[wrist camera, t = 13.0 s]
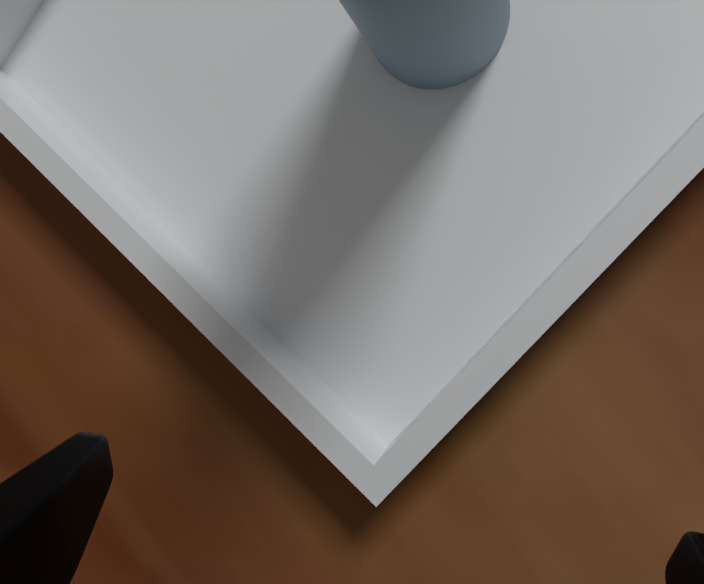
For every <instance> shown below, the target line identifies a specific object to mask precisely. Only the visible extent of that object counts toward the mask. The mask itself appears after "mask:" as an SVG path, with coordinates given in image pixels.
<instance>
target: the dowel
mask: <svg viewBox="0 0 704 584" xmlns="http://www.w3.org/2000/svg"><path fill="white" fill-rule="evenodd" d="M339 1H340V3H341V4H342V6H343V7H344V9H345V10H346V12H347V13H348V15H349V16H350V18H351V19H352V21H353V22H354V24H355V25H356V27H357V28H358V30H359V31H360V33H361V34H362V36H363V37H364V39H365V40H366V42H367V43H368V45H369V46H370V48H371V49H372V51H373V52H374V54H375V55H376V57H377V58H378V60H379V61H380V63H381V64H382V66H383V67H384V68H385V69H386V70H387V71H388V72H389V73H390V74H391V75H392V76H393V77H395V78H396V79H398V80H399V81H401V82H403V83H405V84H407V85H410V86H413V87H417V88H422V89H442V88H447V87H451V86H455V85H457V84H460V83H462V82H465V81H466V80H468V79H470V78H472V77H473V76H475V75H476V74H477V73H479V72H480V71H481V70H482V69H483V68H485V67H486V66H487V65H488V64H489V62H490V61H491V60H492V59H493V58H494V56H495V55H496V53H497V52H498V50H499V49H500V47H501V45H502V43H503V41H504V39H505V36H506V33H507V30H508V25H509V21H510V0H339Z"/></svg>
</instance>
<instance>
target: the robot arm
mask: <svg viewBox="0 0 704 584" xmlns="http://www.w3.org/2000/svg"><path fill="white" fill-rule="evenodd" d="M112 478H113V466H112V461H111V456H110V450H109V445H108V441H107V439H106V437H105V436H104V435H100V434H94V433H88V432H80V433H77V434H75V435H73V436H72V437H70V438H69V439H67V440H66V441H64V442H63V443H61V444H60V445H58V446H57V447H55V448H54V449H52V450H51V451H49V452H48V453H46V454H45V455H43V456H41V457H40V458H38V459H37V460H35V461H34V462H32V463H31V464H29V465H28V466H26V467H25V468H23V469H22V470H20V471H19V472H17V473H16V474H14V475H13V476H11V477H10V478H8V479H7V480H5V481H4V482H2V483H0V584H70V582H71V580H72V578H73V576H74V574H75V572H76V569H77V567H78V565H79V562H80V560H81V558H82V555H83V553H84V550H85V548H86V545H87V543H88V540H89V538H90V535H91V533H92V530H93V528H94V525H95V523H96V520H97V518H98V515H99V513H100V510H101V508H102V505H103V503H104V500H105V498H106V495H107V493H108V490H109V488H110V485H111V482H112ZM665 580H666V584H704V533H698V532H687V533H685V534H684V535H683V537H682V538H681V540H680V542H679V543H678V545H677V547H676V549H675V550H674V552H673V554H672V556H671V557H670V559H669V561H668V563H667V566H666V571H665Z"/></svg>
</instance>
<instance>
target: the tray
mask: <svg viewBox="0 0 704 584" xmlns="http://www.w3.org/2000/svg"><path fill="white" fill-rule="evenodd" d="M0 132H1V133H2V134H3V135H4V136H5V137H6V138H7V139H8V140H9V141H10V142H11V143H12V144H13V145H14V146H15V147H16V148H17V149H18V150H19V151H20V152H21V153H22V154H23V155H24V156H25V157H26V158H27V159H28V160H29V161H30V162H31V163H32V164H33V165H34V166H35V167H36V168H37V169H38V170H39V171H40V172H41V173H42V174H43V175H44V176H45V177H46V178H47V179H48V180H49V181H50V182H51V183H52V184H53V185H54V186H55V187H56V188H57V189H58V190H59V191H60V192H61V193H62V194H63V195H64V196H65V197H66V198H67V199H68V200H69V201H70V202H71V203H72V204H73V205H74V206H75V207H76V208H77V209H78V210H79V211H80V212H81V213H82V214H83V215H84V216H85V217H86V218H87V219H88V220H89V221H90V222H91V223H92V224H93V225H94V226H95V227H96V228H97V229H98V230H99V231H100V232H101V233H102V234H103V235H104V236H105V237H106V238H107V239H108V240H109V241H110V242H111V243H112V244H113V245H114V246H115V247H116V248H117V249H118V250H119V251H120V252H121V253H122V254H123V255H124V256H125V257H126V258H127V259H128V260H129V261H130V262H131V263H132V264H133V265H134V266H135V267H136V268H137V269H138V270H139V271H140V272H141V273H142V274H143V275H144V276H145V277H146V278H147V279H148V280H149V281H150V282H151V283H152V284H153V285H154V286H155V287H156V288H157V289H158V290H159V291H160V292H161V293H162V294H163V295H164V296H165V297H166V298H167V299H168V300H169V301H170V302H171V303H172V304H173V305H174V306H175V307H176V308H177V309H178V310H179V311H180V312H181V313H182V314H183V315H184V316H185V317H186V318H187V319H188V320H189V321H190V322H191V323H192V324H193V325H194V326H195V327H196V328H197V329H198V330H199V331H200V332H201V333H202V334H203V335H204V336H205V337H206V338H207V339H208V340H209V341H210V342H211V343H212V344H213V345H214V346H215V347H216V348H217V349H218V350H219V351H220V352H221V353H222V354H223V355H224V356H225V357H226V358H227V359H228V360H229V361H230V362H231V363H232V364H233V365H234V366H235V367H236V368H237V369H238V370H239V371H240V372H241V373H242V374H243V375H244V376H245V377H246V378H247V379H248V380H249V381H250V382H251V383H252V384H253V385H254V386H255V387H256V388H257V389H258V390H259V391H260V392H261V393H262V394H263V395H264V396H265V397H266V398H267V399H268V400H269V401H270V402H271V403H272V404H273V405H274V406H275V407H276V408H277V409H278V410H279V411H280V412H281V413H282V414H283V415H284V416H285V417H286V418H287V419H288V420H289V421H290V422H291V423H292V424H293V425H294V426H295V427H296V428H297V429H298V430H299V431H300V432H301V433H302V434H303V435H304V436H305V437H306V438H307V439H308V440H309V441H310V442H311V443H312V444H313V445H314V446H315V447H316V448H317V449H318V450H319V451H320V452H321V453H322V454H323V455H324V456H325V457H326V458H327V459H328V460H329V461H330V462H331V463H332V464H333V465H334V466H335V467H336V468H337V469H338V470H339V471H340V472H341V473H342V474H343V475H344V476H345V477H346V478H347V479H348V480H349V481H350V482H351V483H352V484H353V485H354V486H356V487H357V488H358V489H359V490H360V491H361V492H362V493H363V494H364V495H365V496H366V497H367V498H368V499H369V500H370V501H371V502H372V503H373V504H374V505H375V506H376V507H377V506H378V505H379V504H380V503H381V502H382V501H383V500H384V498H385V497H386V496H387V495H388V494H389V493H390V492H391V491H392V490H393V489H394V488H395V487H396V486H397V485H398V484H399V483H400V482H401V481H402V480H403V479H404V478H405V477H406V476H407V475H408V474H409V473H410V472H411V470H412V469H413V468H414V467H415V466H416V465H417V464H418V463H419V462H420V461H421V460H422V459H423V458H424V457H425V456H426V455H427V454H428V453H429V452H430V451H431V450H432V449H433V448H434V447H435V446H436V445H437V444H438V442H439V441H440V440H441V439H442V438H443V437H444V436H445V435H446V434H447V433H448V432H449V431H450V430H451V429H452V428H453V427H454V426H455V425H456V424H457V423H458V422H459V421H460V420H461V419H462V418H463V417H464V416H465V414H466V413H467V412H468V411H469V410H470V409H471V408H472V407H473V406H474V405H475V404H476V403H477V402H478V401H479V400H480V399H481V398H482V397H483V396H484V395H485V394H486V393H487V392H488V391H489V390H490V389H491V388H492V386H493V385H494V384H495V383H496V382H497V381H498V380H499V379H500V378H501V377H502V376H503V375H504V374H505V373H506V372H507V371H508V370H509V369H510V368H511V367H512V366H513V365H514V364H515V363H516V362H517V361H518V360H519V358H520V357H521V356H522V355H523V354H524V353H525V352H526V351H527V350H528V349H529V348H530V347H531V346H532V345H533V344H534V343H535V342H536V341H537V340H538V339H539V338H540V337H541V336H542V335H543V334H544V333H545V332H546V330H547V329H548V328H549V327H550V326H551V325H552V324H553V323H554V322H555V321H556V320H557V319H558V318H559V317H560V316H561V315H562V314H563V313H564V312H565V311H566V310H567V309H568V308H569V307H570V306H571V305H572V304H573V302H574V301H575V300H576V299H577V298H578V297H579V296H580V295H581V294H582V293H583V292H584V291H585V290H586V289H587V288H588V287H589V286H590V285H591V284H592V283H593V282H594V281H595V280H596V279H597V278H598V277H599V276H600V274H601V273H602V272H603V271H604V270H605V269H606V268H607V267H608V266H609V265H610V264H611V263H612V262H613V261H614V260H615V259H616V258H617V257H618V256H619V255H620V254H621V253H622V252H623V251H624V250H625V249H626V248H627V246H628V245H629V244H630V243H631V242H632V241H633V240H634V239H635V238H636V237H637V236H638V235H639V234H640V233H641V232H642V231H643V230H644V229H645V228H646V227H647V226H648V225H649V224H650V223H651V222H652V221H653V220H654V218H655V217H656V216H657V215H658V214H659V213H660V212H661V211H662V210H663V209H664V208H665V207H666V206H667V205H668V204H669V203H670V202H671V201H672V200H673V199H674V198H675V197H676V196H677V195H678V194H679V193H680V192H681V190H682V189H683V188H684V187H685V186H686V185H687V184H688V183H689V182H690V181H691V180H692V179H693V178H694V177H695V176H696V175H697V174H698V173H699V172H700V171H701V170H702V169H703V168H704V0H510V21H509V25H508V30H507V33H506V36H505V39H504V41H503V43H502V45H501V47H500V49H499V50H498V52H497V53H496V55H495V56H494V58H493V59H492V60H491V61H490V62H489V64H488V65H487V66H486V67H485V68H483V69H482V70H481V71H480V72H479V73H477V74H476V75H475V76H473V77H472V78H470V79H468V80H466V81H465V82H462V83H460V84H457V85H455V86H451V87H447V88H442V89H422V88H417V87H413V86H410V85H407V84H405V83H403V82H401V81H399V80H398V79H396V78H395V77H393V76H392V75H391V74H390V73H389V72H388V71H387V70H386V69H385V68H384V67H383V66H382V64H381V63H380V61H379V60H378V58H377V57H376V55H375V54H374V52H373V51H372V49H371V48H370V46H369V45H368V43H367V42H366V40H365V39H364V37H363V36H362V34H361V33H360V31H359V30H358V28H357V27H356V25H355V24H354V22H353V21H352V19H351V18H350V16H349V15H348V13H347V12H346V10H345V9H344V7H343V6H342V4H341V3H340V1H339V0H0Z"/></svg>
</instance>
